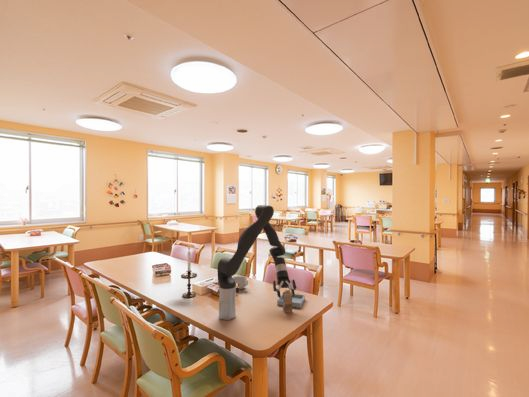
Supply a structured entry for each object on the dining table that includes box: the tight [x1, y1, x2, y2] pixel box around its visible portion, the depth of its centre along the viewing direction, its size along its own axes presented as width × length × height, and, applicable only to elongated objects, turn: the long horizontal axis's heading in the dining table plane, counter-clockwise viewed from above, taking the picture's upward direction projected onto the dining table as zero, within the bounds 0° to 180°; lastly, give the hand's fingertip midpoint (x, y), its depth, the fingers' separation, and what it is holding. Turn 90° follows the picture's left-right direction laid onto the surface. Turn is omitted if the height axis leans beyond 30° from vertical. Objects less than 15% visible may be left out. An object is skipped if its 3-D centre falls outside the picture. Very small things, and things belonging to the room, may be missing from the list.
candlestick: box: [180, 246, 198, 299], centre depth 184 cm, size 11×11×35 cm
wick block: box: [282, 289, 293, 314], centre depth 159 cm, size 4×4×13 cm
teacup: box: [232, 275, 249, 290], centre depth 198 cm, size 14×11×8 cm
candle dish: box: [276, 293, 306, 309], centre depth 173 cm, size 15×15×3 cm
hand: (286, 296), depth 161 cm, fingers open, 8 cm apart
